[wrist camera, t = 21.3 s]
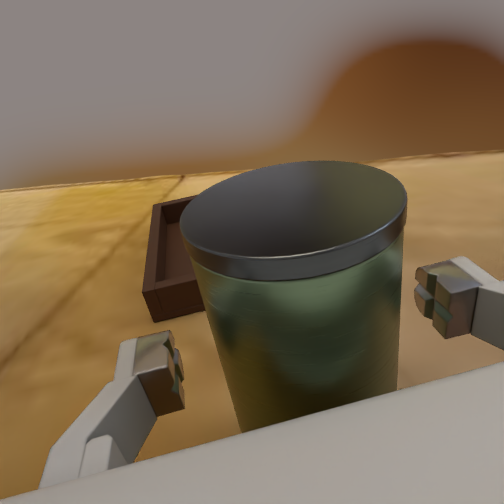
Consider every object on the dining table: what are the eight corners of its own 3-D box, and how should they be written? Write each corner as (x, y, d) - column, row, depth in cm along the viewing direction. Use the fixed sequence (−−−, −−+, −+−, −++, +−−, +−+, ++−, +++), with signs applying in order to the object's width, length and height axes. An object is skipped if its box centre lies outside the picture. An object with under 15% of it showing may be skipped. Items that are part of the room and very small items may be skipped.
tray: (153, 322, 25) (141, 292, 23) (160, 227, 37) (152, 204, 36) (366, 270, 26) (366, 238, 24) (303, 195, 38) (300, 171, 37)
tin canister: (267, 556, 13) (180, 285, 7) (241, 413, 18) (177, 185, 12) (425, 508, 13) (464, 217, 7) (357, 382, 18) (348, 147, 12)
